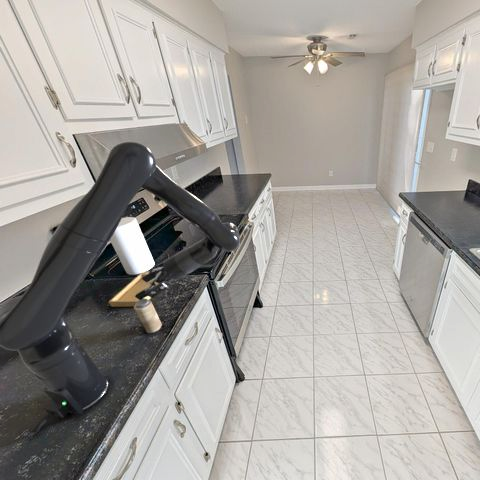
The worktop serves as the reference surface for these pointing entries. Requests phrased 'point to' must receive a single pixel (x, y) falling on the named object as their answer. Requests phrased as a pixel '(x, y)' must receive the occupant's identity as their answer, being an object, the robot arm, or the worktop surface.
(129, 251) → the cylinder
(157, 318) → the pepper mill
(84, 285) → the worktop surface
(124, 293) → the tray
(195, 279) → the worktop surface
